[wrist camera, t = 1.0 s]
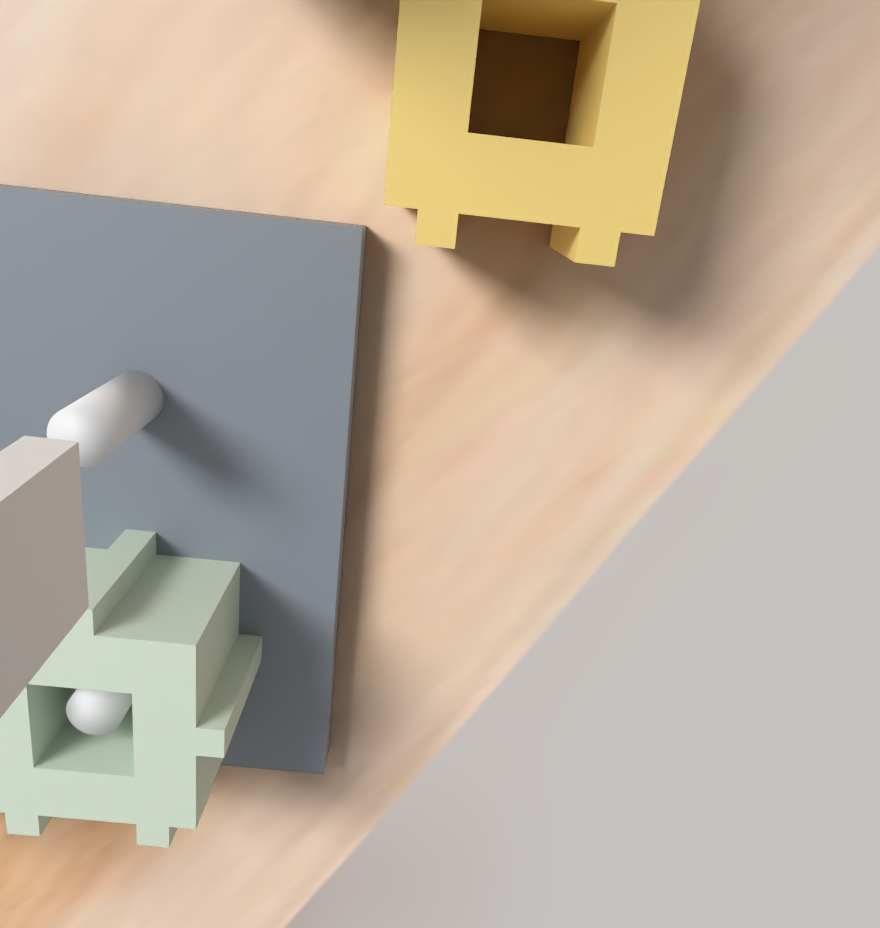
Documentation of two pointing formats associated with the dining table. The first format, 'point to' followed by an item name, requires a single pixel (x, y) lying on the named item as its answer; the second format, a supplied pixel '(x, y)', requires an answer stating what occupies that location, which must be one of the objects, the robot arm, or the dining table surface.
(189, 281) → the gear board
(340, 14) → the dining table surface
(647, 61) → the loose cog
